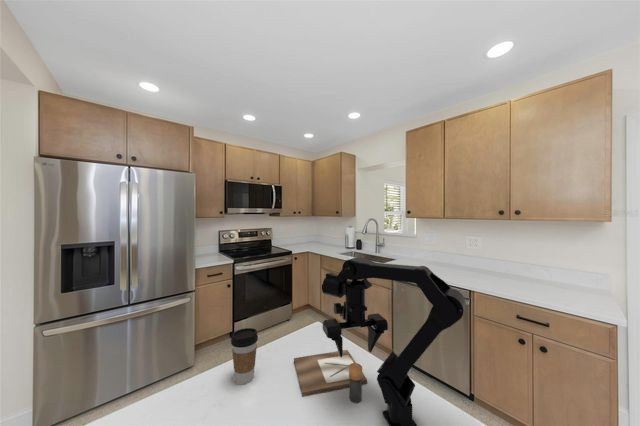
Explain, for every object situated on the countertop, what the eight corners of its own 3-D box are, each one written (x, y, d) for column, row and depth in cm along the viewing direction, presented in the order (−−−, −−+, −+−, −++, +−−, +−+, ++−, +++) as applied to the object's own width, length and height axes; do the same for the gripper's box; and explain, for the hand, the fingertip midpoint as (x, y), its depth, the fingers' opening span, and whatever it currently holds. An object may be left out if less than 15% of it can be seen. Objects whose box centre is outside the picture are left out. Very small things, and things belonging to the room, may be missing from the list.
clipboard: (367, 383, 74) (367, 378, 74) (302, 396, 68) (302, 391, 68) (347, 352, 90) (347, 349, 90) (293, 361, 85) (293, 357, 85)
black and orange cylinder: (364, 401, 66) (364, 370, 66) (351, 404, 65) (351, 372, 65) (358, 391, 70) (358, 362, 70) (346, 394, 69) (346, 364, 69)
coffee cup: (249, 389, 71) (250, 340, 71) (225, 385, 73) (225, 337, 73) (262, 371, 79) (262, 327, 79) (239, 368, 81) (239, 325, 81)
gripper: (371, 289, 78) (371, 336, 78) (317, 294, 73) (317, 344, 73) (388, 301, 68) (389, 355, 67) (328, 308, 63) (328, 366, 62)
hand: (355, 354), depth 68 cm, fingers open, 9 cm apart
